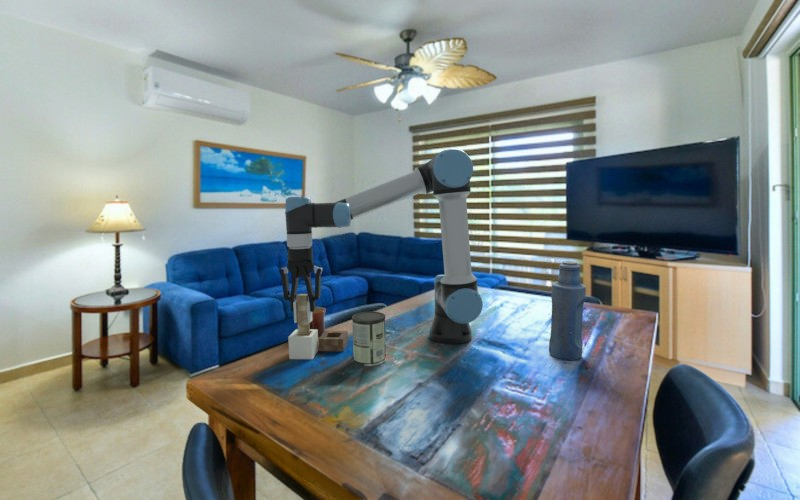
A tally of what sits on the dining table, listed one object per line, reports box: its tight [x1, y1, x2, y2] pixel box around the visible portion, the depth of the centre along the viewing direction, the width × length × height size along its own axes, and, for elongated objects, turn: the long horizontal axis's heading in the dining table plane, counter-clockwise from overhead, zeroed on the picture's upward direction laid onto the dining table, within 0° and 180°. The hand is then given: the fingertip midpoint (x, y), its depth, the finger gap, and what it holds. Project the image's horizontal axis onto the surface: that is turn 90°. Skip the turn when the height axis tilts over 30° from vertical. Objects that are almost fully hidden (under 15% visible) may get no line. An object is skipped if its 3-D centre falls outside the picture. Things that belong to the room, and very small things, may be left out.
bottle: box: [548, 260, 587, 361], centre depth 118 cm, size 10×10×30 cm
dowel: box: [296, 293, 310, 336], centre depth 118 cm, size 4×4×18 cm
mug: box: [310, 306, 327, 338], centre depth 136 cm, size 12×9×10 cm
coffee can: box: [351, 311, 387, 367], centre depth 117 cm, size 10×10×14 cm
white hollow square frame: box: [287, 328, 319, 360], centre depth 119 cm, size 7×7×8 cm
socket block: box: [318, 330, 349, 352], centre depth 126 cm, size 8×8×5 cm
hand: (303, 321), depth 118 cm, fingers closed on dowel, 3 cm apart
